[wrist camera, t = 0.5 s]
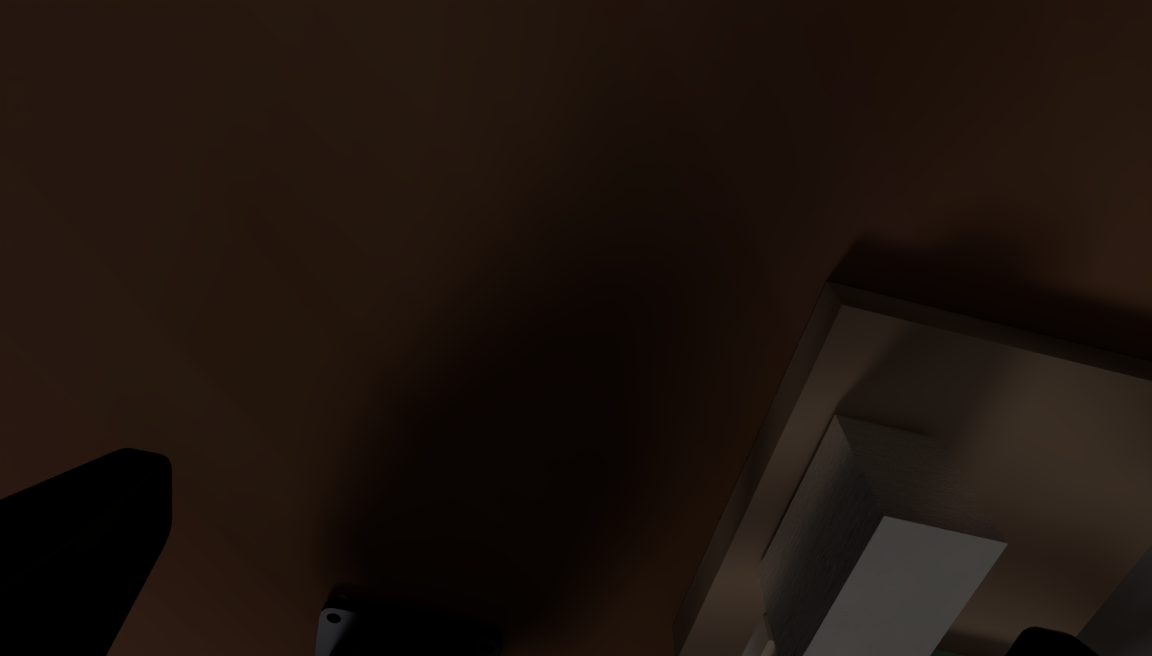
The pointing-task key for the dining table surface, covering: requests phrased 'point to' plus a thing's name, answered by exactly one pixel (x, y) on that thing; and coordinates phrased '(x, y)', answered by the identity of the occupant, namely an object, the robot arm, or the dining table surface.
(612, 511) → the dining table surface
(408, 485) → the dining table surface
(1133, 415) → the gauge base
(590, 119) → the dining table surface
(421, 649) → the robot arm
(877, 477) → the push plate
